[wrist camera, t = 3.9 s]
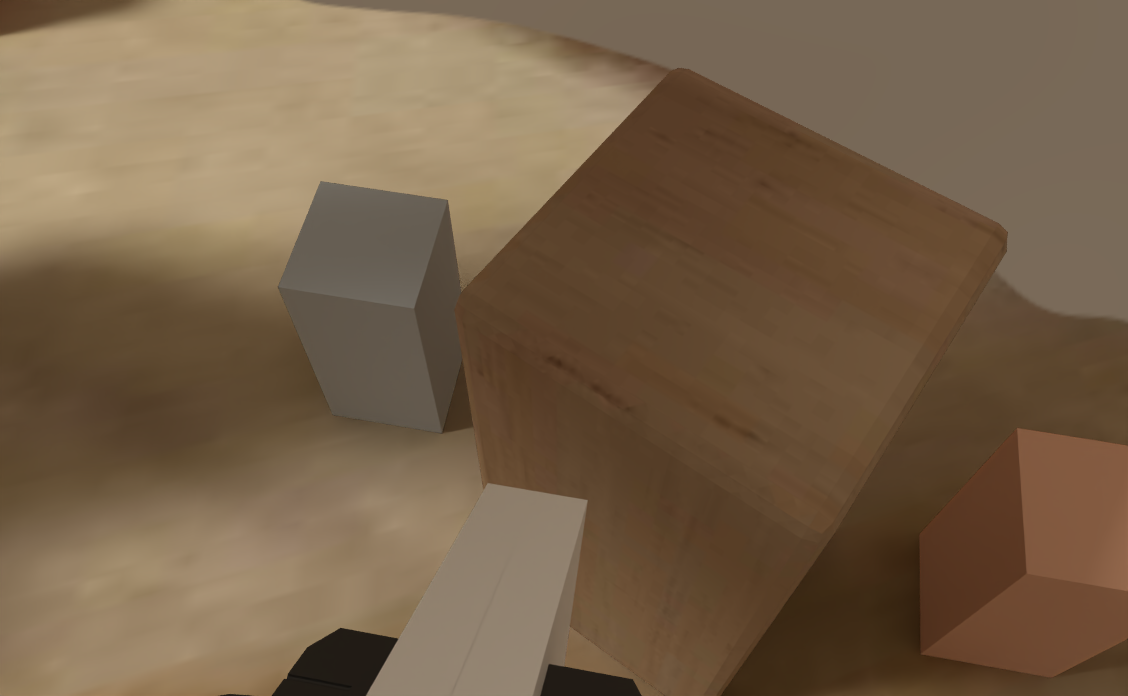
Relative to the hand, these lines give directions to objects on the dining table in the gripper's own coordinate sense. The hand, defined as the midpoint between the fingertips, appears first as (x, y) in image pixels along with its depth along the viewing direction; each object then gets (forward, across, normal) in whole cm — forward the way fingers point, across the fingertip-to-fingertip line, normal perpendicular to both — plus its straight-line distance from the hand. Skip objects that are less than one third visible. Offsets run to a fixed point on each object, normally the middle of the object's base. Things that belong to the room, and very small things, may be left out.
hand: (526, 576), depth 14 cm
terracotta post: (+25, +16, -10) cm, 31 cm away
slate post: (+28, -10, -6) cm, 31 cm away
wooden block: (+25, +3, -10) cm, 27 cm away
